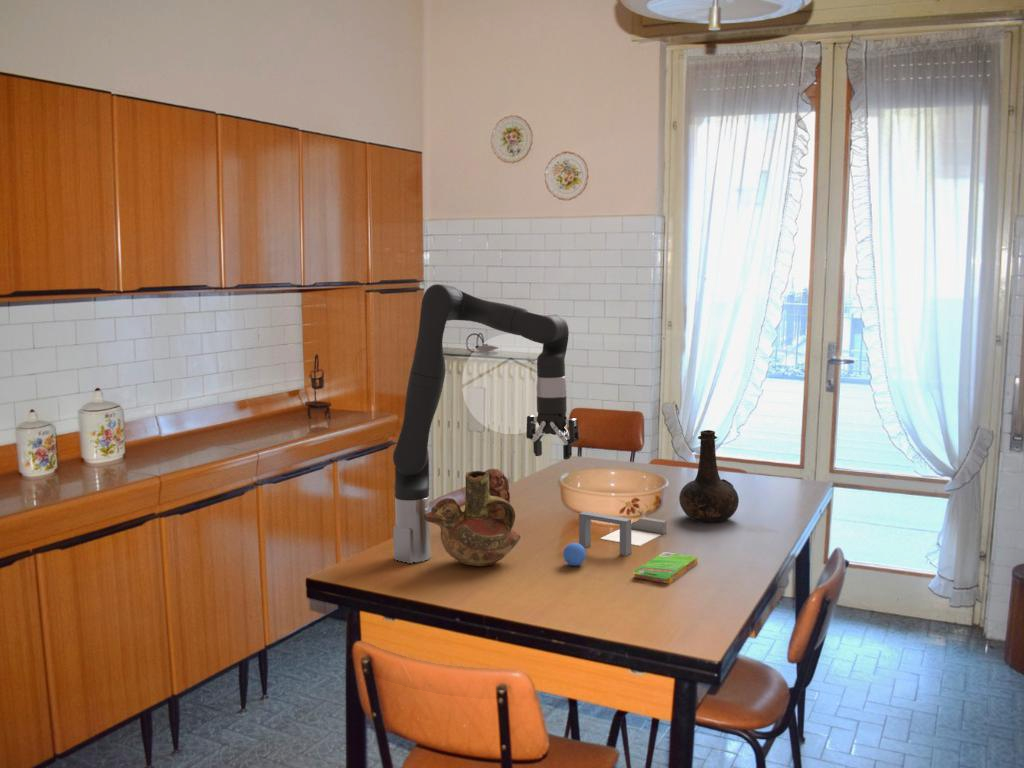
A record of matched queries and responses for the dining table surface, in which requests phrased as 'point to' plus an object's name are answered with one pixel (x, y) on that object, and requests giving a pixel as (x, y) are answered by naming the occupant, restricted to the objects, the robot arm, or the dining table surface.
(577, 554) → the ball
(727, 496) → the glass bottle
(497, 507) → the wooden figurine
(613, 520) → the bridge
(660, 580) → the game box
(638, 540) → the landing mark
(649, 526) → the wall
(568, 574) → the dining table surface
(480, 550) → the ceramic vessel
